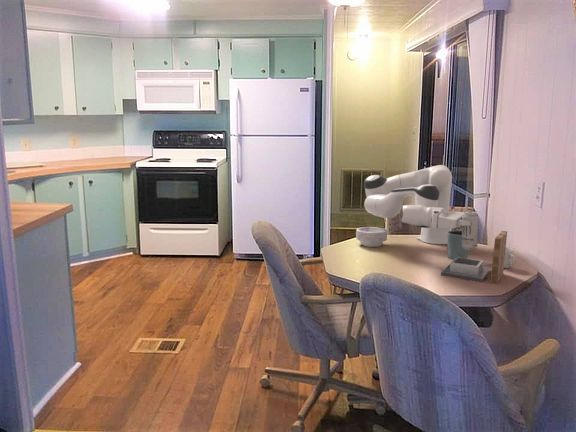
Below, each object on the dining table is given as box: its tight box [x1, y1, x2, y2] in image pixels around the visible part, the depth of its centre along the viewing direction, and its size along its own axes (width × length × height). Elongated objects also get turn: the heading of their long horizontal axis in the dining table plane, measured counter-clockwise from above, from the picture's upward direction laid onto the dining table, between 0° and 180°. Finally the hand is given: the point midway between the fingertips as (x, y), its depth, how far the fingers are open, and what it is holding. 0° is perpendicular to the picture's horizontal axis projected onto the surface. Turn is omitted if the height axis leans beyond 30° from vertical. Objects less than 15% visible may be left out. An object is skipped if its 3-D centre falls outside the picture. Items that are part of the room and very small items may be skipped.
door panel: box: [490, 230, 508, 285], centre depth 206 cm, size 16×2×18 cm, turn 149°
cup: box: [503, 246, 516, 269], centre depth 222 cm, size 11×8×8 cm
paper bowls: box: [355, 226, 388, 248], centre depth 258 cm, size 15×15×8 cm
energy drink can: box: [461, 211, 479, 251], centre depth 211 cm, size 6×6×15 cm
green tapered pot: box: [447, 229, 469, 261], centre depth 236 cm, size 10×10×12 cm
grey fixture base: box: [440, 257, 492, 283], centre depth 214 cm, size 18×16×5 cm
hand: (472, 221), depth 209 cm, fingers closed on energy drink can, 6 cm apart
